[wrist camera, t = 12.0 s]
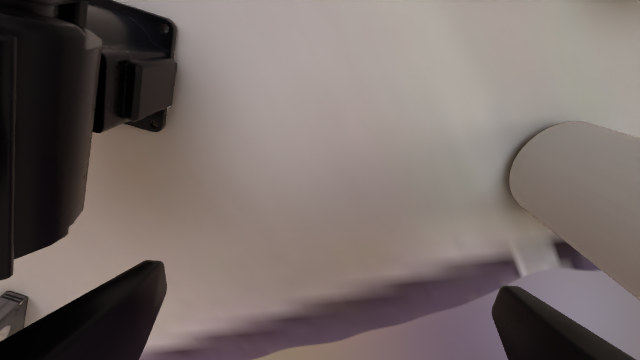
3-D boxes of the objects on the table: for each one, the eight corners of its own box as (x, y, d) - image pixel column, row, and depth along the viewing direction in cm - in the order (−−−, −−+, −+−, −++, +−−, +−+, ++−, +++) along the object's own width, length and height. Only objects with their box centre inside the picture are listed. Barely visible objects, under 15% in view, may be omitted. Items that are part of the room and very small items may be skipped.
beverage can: (520, 114, 20) (778, 206, 9) (619, 122, 20) (991, 220, 9) (491, 205, 22) (661, 364, 11) (579, 210, 22) (830, 372, 11)
